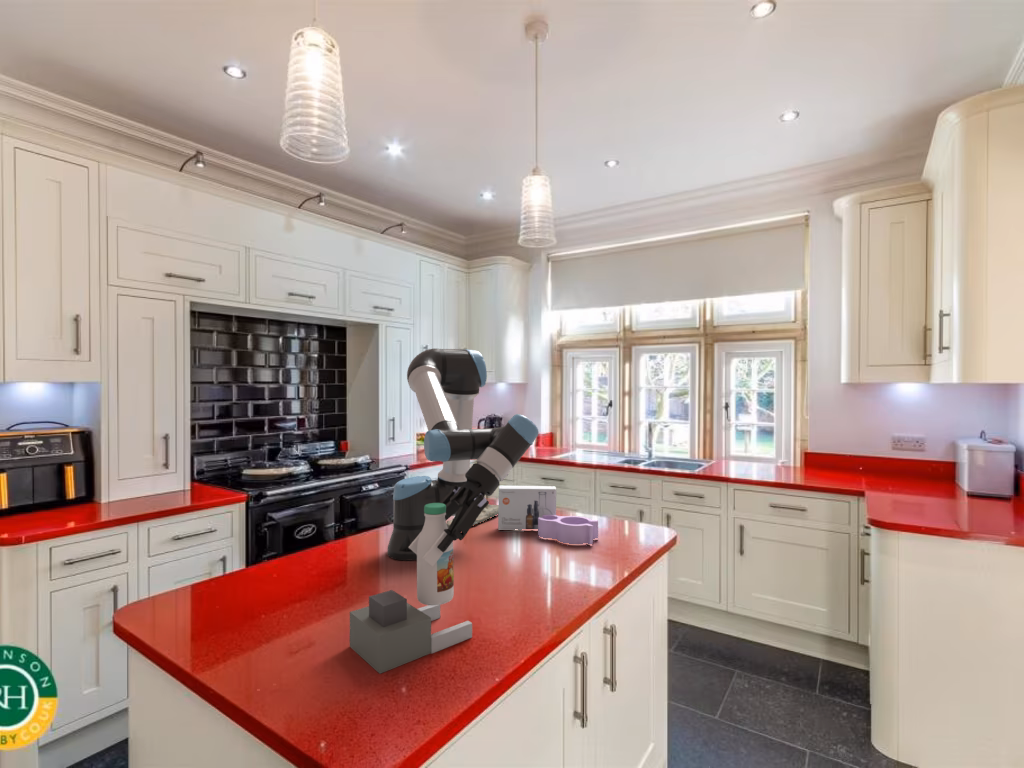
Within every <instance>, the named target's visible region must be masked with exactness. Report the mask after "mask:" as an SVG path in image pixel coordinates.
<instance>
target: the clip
mask: <svg viewBox="0 0 1024 768" xmlns="http://www.w3.org/2000/svg"><path fill="white" fill-rule="evenodd" d="M538 535H539V536H540V537H543V538H552V539H557V540H558V541H560V542H563V543H569V544H583V543H588V544H594V543H593V542H594V541H593V539H595V538H598V539H599V520H597V519H591V518H589V517H587V516H577V515H567V516H565V515H562V516H561V515H557V514H556V515H542V518H541V517H539V518H538V532H537V536H538Z"/></svg>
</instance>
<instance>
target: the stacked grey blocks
mask: <svg viewBox="0 0 1024 768" xmlns="http://www.w3.org/2000/svg"><path fill="white" fill-rule="evenodd" d="M407 599H408V598H406V597H404V596H402V595H401V594H399V593H397V592H396V591H395V590H393V589H390V590H387V591H384V592H380V593H376V594H372V595H369V596H368V606H365V607H362V608H358V609H356V610H355V609H354V610H352V611H349V647H350V648H351V650H353V651H354V652H355V653H356V654H357V655H358V656H359V657H360V658H362V659H363V660H364V661H365V662H366V664H367V663H368V664H369V666H371V668H373V669H374V670H375V671H376V672H377V673H378V674H382V673H383V674H384V673H385V672H388V671H390V670H393V669H395V668H398V667H400V666H403V665H404V664H407V663H410V662H413V661H415V660H418V659H419V658H422V657H425V656H428V655H430V654H431V655H432V654H435V653H437V652H439V651H442V650H444V649H447V648H450V647H452V646H454V645H457V644H459V643H462V642H464V641H466V640H469V639H471V638H473V623H472V622H471V621H469V620H466V621H464V622H461V623H458V624H456V625H452V626H450V627H447V628H444V629H442V630H439V631H437V632H433V633H432V622H433V621H435V620H437V619H438V620H439V619H440V618H441V605H426V606H422V607H418V608H416V607H415V606H413V605H412V604H411V603H408V600H407Z"/></svg>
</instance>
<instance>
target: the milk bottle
mask: <svg viewBox="0 0 1024 768" xmlns="http://www.w3.org/2000/svg"><path fill="white" fill-rule="evenodd" d="M424 512H425V514H424V516H425V523H424V527H423V529H422V531H421V534H420V536H419V539H418V545H417V560H416V597H417V598H416V599H417V601H418V603H420V604H422V605H426V606H428V605H440V606H442V605H445V604H447V603H449V602H450V601H452V600H453V599H454V590H455V588H454V587H455V586H454V584H455V583H454V582H455V581H454V580H455V579H454V577H455V576H454V575H455V574H454V573H455V572H454V571H455V569H454V565H455V564H454V563H455V561H454V541H453V542H452V543H451V544H450V545H449V547H448V548H447V549H446V551H445V552H444V553H443V554H442V556H441V557H440V558H439V559H438V561H437V562H436V563H435V564H434V566H433V567H432V566H431V565H430V564H429V563H428V562H426V561H425V560H424V559H423V557H424V555H425V554H426V553H427V552H428V550H429V549H430V548H431V547H432V545H433V544H434V543H435V542H436V540H437V539H438V538H439V537H440V535H441V534H442V533H443V532H444V529H448V527H447V520H446V521H445V515H446V505H445V504H443V503H430V504H426V505H425V506H424ZM444 533H446V532H444ZM446 534H447V533H446Z"/></svg>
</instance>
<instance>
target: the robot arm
mask: <svg viewBox="0 0 1024 768" xmlns="http://www.w3.org/2000/svg"><path fill="white" fill-rule="evenodd" d="M409 363H410V364H409V365H408V367H407V372H406V380H407V383H408V387H409V388H410V390H411V391H412V392H414V393H415V395H416V399H417V402H418V405H419V407H420V411H421V414H422V417H423V418H424V419H423V420H424V422H425V426H426V427H427V431H426V432H425V435H424V437H423V449H424V455H425V458H426V460H428V461H430V462H442V464H443V465H442V469H440V471H439V472H438V473H437V479H436V480H432V477H430V476H429V475H421V476H419V475H416V476H410V477H406V478H402V479H401V480H399V481H397V482H396V483H395V484H394V486H393V494H392V499H393V518H392V519H393V522H392V523H393V525H392V526H393V528H392V531H391V535H390V538H389V541H388V545H387V556H388V557H389V558H391V559H393V560H398V561H417V545H418V539H419V536H420V534H421V531H422V529H423V527H424V523H425V516H424V514H425V512H424V506H425V505H426V504H430V503H443V504H445V505H446V515H445V521H446V522H447V521H448V519H450V518H451V517H453V518H452V519H453V521H452V522H451V524H450V526H449V528H448V529H444V532H446V533H447V534H446V533H444V532H443V533H442V534H441V535H440V537H439V538H438V539H437V540H436V542H435V543H434V544H433V545H432V547H431V548H430V549H429V550H428V552H427V553H426V554H425V555H424V557H423V559H424V560H425V561H426V562H428V563H429V564H430V565H431V566H432V567H433V566H434V564H435V563H436V562H437V561H438V559H439V558H440V557H441V556H442V554H443V553H444V552H445V551H446V549H447V548H448V547H449V545H450V544H451V543H452V542H453V543H454V541H457V540H459V541H462V540H464V538H465V536H466V535H467V534H468V532H469V531H470V529H471V528H472V527H471V526H472V525H473V523H474V522H475V520H476V519H477V517H478V516H479V515H480V513H481V512H482V510H483V509H484V508H485V507H486V506H487V505H488V504H490V501H488V499H486V497H485V496H488V497H490V496H492V495H493V494H494V493H495V491H496V490H497V489H498V488H499V486H500V482H503V481H504V480H505V479H506V477H508V475H509V473H510V472H511V470H512V469H514V467H515V465H516V464H517V463H518V462H519V461H520V459H522V457H523V456H524V455H525V453H526V452H527V450H528V449H529V448H530V447H531V446H532V445H533V444H534V441H536V439H537V437H538V436H539V429H538V427H537V425H536V424H535V423H534V422H533V421H532V420H531V419H530V418H529V417H527V416H525V415H523V414H520V413H519V414H518V413H516V414H514V415H513V416H512V417H511V418H510V419H509V420H507V423H506V424H505V425H504V426H500V427H495V428H493V427H492V428H491V427H490V428H488V427H487V428H473V417H474V404H475V403H474V402H475V401H474V399H475V398H476V397H477V396H478V395H479V394H480V388H484V387H485V386H486V383H487V378H488V375H487V374H488V373H487V365H486V361H485V358H484V356H483V355H482V353H481V352H480V351H478V350H475V349H467V348H429V349H426V350H423V351H422V352H420V353H418V354H417V355H416V356H415V357H413V359H412V360H411V362H409ZM471 460H476V463H472V465H471ZM470 465H471V466H470Z"/></svg>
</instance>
